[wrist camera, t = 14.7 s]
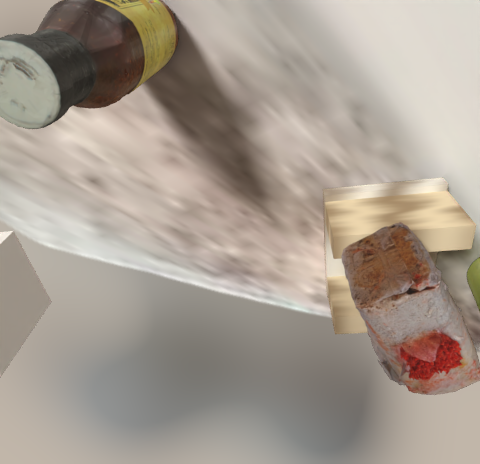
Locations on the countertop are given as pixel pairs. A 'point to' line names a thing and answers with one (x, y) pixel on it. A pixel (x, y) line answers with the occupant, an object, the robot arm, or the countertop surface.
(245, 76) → the countertop surface
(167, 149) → the countertop surface
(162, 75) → the countertop surface
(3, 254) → the robot arm
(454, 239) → the stand
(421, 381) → the food item
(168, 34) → the sauce bottle
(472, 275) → the plant pot
